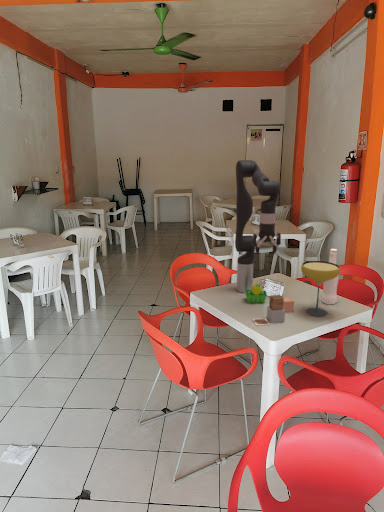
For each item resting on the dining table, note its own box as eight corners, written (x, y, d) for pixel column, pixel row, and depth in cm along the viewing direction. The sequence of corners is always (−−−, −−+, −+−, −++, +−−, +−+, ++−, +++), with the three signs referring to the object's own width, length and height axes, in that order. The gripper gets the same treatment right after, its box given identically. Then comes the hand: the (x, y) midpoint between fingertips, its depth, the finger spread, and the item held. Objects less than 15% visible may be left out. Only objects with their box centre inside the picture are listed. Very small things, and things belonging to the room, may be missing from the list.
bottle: (317, 301, 214) (322, 248, 206) (328, 298, 217) (333, 246, 210) (329, 306, 207) (333, 251, 199) (339, 303, 210) (345, 249, 203)
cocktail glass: (302, 319, 190) (306, 270, 184) (295, 305, 208) (298, 260, 202) (340, 320, 189) (345, 271, 183) (329, 306, 207) (333, 260, 200)
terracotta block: (280, 309, 203) (281, 298, 202) (289, 308, 204) (290, 297, 203) (284, 312, 199) (284, 301, 197) (293, 312, 199) (294, 301, 198)
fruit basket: (265, 298, 218) (266, 279, 215) (266, 304, 209) (267, 285, 206) (244, 298, 219) (245, 279, 216) (245, 304, 210) (246, 284, 207)
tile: (251, 320, 190) (252, 318, 190) (265, 319, 191) (265, 317, 191) (256, 326, 183) (256, 324, 183) (270, 325, 184) (270, 323, 184)
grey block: (266, 317, 193) (267, 306, 191) (279, 316, 194) (279, 305, 192) (271, 323, 187) (272, 311, 185) (284, 322, 188) (285, 310, 186)
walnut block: (269, 306, 191) (269, 295, 189) (278, 306, 192) (279, 294, 190) (273, 310, 186) (273, 299, 184) (282, 310, 187) (283, 298, 185)
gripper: (278, 220, 197) (276, 251, 201) (251, 221, 195) (250, 252, 199) (283, 222, 190) (282, 254, 194) (255, 223, 188) (254, 256, 192)
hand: (265, 253), depth 197 cm, fingers open, 8 cm apart
